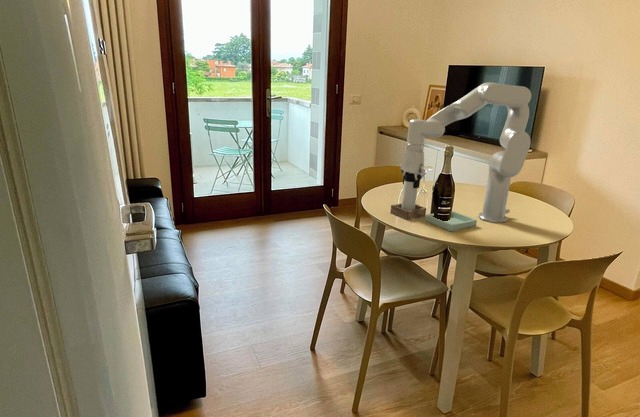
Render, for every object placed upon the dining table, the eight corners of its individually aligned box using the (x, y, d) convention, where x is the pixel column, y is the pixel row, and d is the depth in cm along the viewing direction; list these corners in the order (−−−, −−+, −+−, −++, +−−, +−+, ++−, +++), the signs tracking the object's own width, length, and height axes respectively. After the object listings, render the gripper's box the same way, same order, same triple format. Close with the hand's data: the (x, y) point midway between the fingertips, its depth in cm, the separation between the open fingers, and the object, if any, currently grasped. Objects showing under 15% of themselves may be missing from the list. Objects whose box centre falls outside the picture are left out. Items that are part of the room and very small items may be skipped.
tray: (449, 216, 199) (450, 210, 198) (475, 226, 187) (476, 219, 186) (425, 221, 191) (426, 215, 190) (450, 232, 179) (451, 225, 178)
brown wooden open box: (409, 209, 207) (410, 201, 205) (425, 216, 198) (426, 208, 196) (390, 213, 200) (391, 205, 199) (406, 220, 192) (407, 211, 190)
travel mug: (415, 217, 196) (419, 175, 189) (400, 216, 197) (405, 174, 190) (414, 213, 201) (419, 172, 195) (400, 211, 203) (405, 171, 196)
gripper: (395, 144, 194) (392, 182, 200) (422, 151, 180) (418, 191, 186) (407, 143, 198) (404, 181, 204) (435, 150, 184) (430, 189, 190)
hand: (410, 185), depth 195 cm, fingers closed on travel mug, 6 cm apart
